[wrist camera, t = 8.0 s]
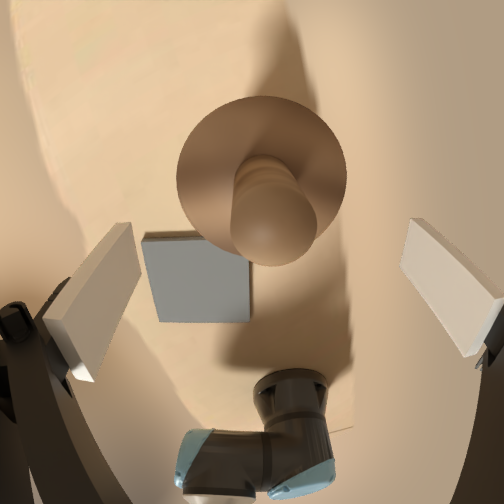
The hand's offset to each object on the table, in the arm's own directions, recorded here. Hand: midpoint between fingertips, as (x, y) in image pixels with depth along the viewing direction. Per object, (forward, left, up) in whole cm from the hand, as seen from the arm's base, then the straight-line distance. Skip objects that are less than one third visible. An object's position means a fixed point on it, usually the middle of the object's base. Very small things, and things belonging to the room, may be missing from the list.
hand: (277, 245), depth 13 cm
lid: (0, 0, -9) cm, 9 cm away
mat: (-18, +8, -22) cm, 30 cm away
